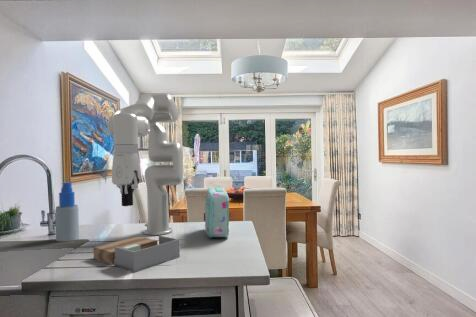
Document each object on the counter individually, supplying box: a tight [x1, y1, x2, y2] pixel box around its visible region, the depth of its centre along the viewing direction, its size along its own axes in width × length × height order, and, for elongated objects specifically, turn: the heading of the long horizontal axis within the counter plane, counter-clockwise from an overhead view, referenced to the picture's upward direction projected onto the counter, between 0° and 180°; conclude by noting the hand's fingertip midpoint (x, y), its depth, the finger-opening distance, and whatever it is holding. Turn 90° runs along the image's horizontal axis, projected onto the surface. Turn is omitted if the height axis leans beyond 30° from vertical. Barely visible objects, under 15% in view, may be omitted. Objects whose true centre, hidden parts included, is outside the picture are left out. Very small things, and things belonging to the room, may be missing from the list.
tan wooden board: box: [93, 236, 159, 266], centre depth 111 cm, size 12×18×4 cm, turn 143°
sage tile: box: [123, 244, 141, 251], centre depth 101 cm, size 5×5×2 cm
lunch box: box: [203, 185, 230, 238], centre depth 141 cm, size 27×10×21 cm, turn 9°
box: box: [114, 235, 181, 273], centre depth 103 cm, size 11×18×6 cm, turn 143°
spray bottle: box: [54, 182, 80, 242], centre depth 137 cm, size 9×9×25 cm
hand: (127, 205), depth 103 cm, fingers closed
